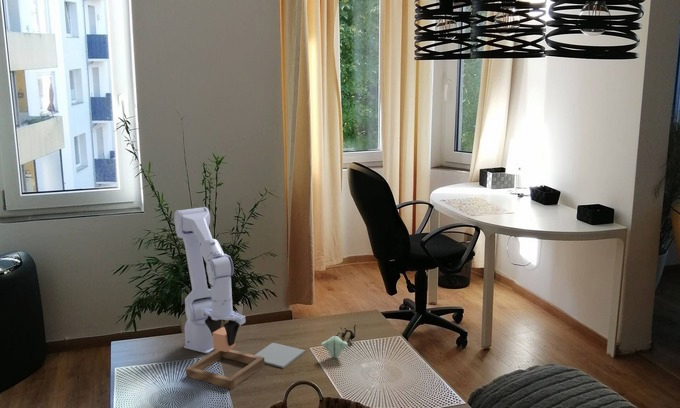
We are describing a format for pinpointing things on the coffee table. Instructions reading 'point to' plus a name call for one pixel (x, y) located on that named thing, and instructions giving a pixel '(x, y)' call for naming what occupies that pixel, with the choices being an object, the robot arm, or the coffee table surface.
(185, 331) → the robot arm
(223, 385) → the well frame
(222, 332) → the terracotta block
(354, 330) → the creature
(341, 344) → the pale green pointed piece
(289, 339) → the coffee table surface
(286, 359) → the tile
